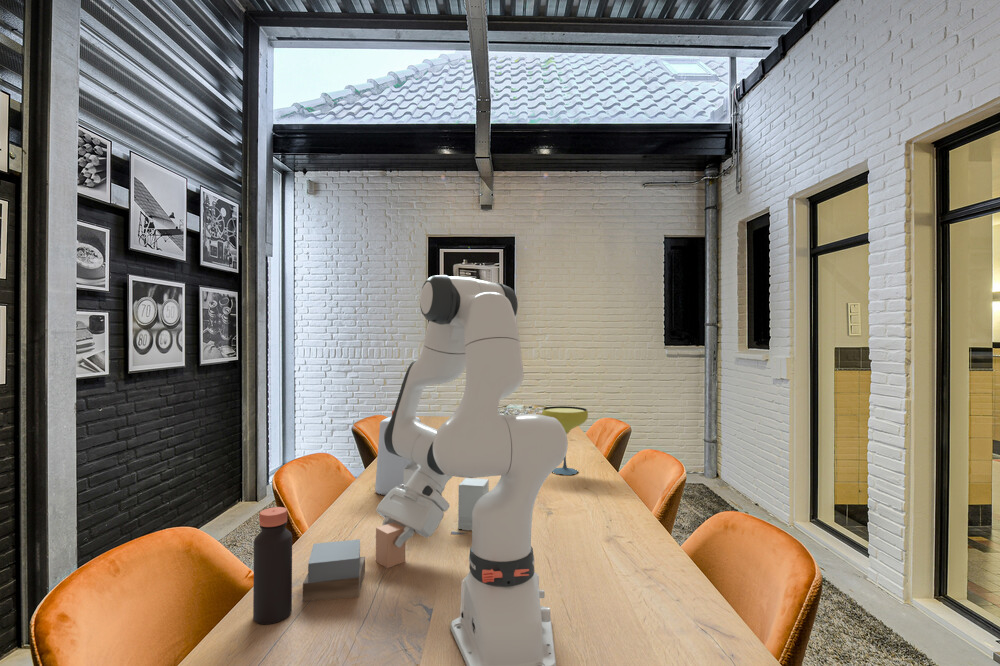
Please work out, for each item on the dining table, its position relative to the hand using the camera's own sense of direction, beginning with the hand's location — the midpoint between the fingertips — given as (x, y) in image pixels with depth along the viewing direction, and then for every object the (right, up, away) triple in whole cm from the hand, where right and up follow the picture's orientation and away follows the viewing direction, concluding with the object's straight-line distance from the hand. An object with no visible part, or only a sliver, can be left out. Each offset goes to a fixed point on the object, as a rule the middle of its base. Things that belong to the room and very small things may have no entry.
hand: (388, 541), depth 118 cm
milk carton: (+3, -5, +28) cm, 29 cm away
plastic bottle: (-8, -6, +56) cm, 57 cm away
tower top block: (-9, -1, -11) cm, 14 cm away
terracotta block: (0, -5, 0) cm, 5 cm away
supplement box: (+19, -5, +23) cm, 30 cm away
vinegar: (-17, -5, -23) cm, 29 cm away
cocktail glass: (+53, -6, +80) cm, 96 cm away
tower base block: (-9, -5, -11) cm, 15 cm away
